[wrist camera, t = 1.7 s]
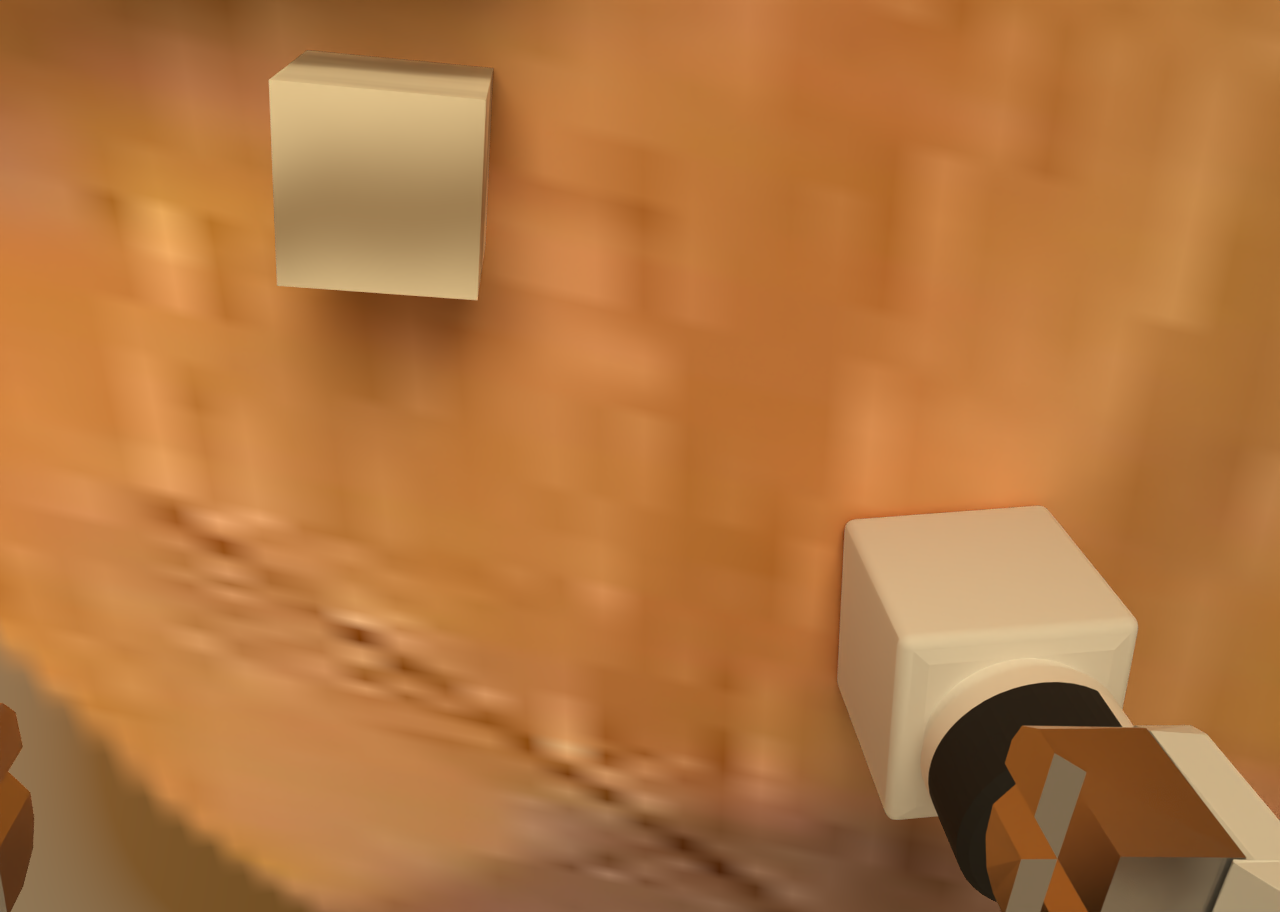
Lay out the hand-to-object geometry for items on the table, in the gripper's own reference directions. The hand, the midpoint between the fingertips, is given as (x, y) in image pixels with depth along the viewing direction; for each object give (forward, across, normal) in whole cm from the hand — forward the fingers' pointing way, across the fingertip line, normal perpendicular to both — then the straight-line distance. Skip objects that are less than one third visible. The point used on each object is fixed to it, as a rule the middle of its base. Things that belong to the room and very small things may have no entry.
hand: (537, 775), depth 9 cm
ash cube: (+26, +4, 0) cm, 26 cm away
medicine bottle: (+26, -15, +14) cm, 34 cm away
